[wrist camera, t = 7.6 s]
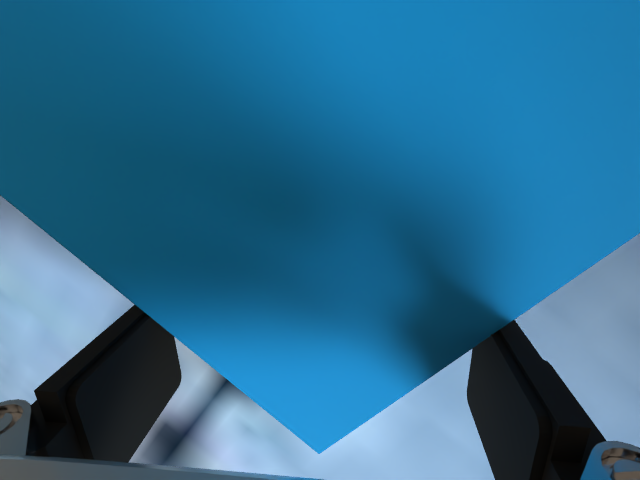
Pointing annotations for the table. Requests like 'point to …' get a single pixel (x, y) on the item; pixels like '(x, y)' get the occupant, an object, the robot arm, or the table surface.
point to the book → (325, 174)
